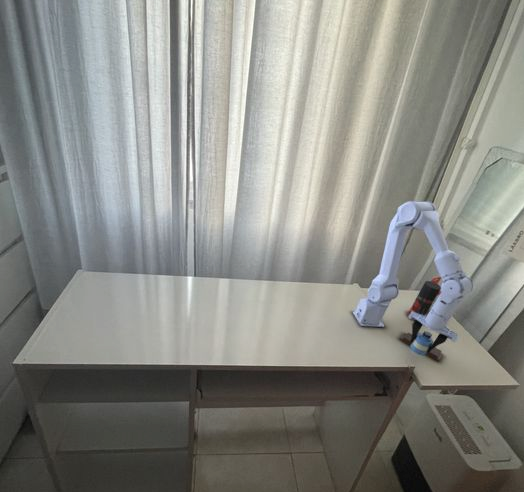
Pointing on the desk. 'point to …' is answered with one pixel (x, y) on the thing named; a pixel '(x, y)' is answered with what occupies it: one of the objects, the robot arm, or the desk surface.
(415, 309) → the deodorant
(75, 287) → the desk surface
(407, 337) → the snack bar
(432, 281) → the ink box
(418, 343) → the bottle
